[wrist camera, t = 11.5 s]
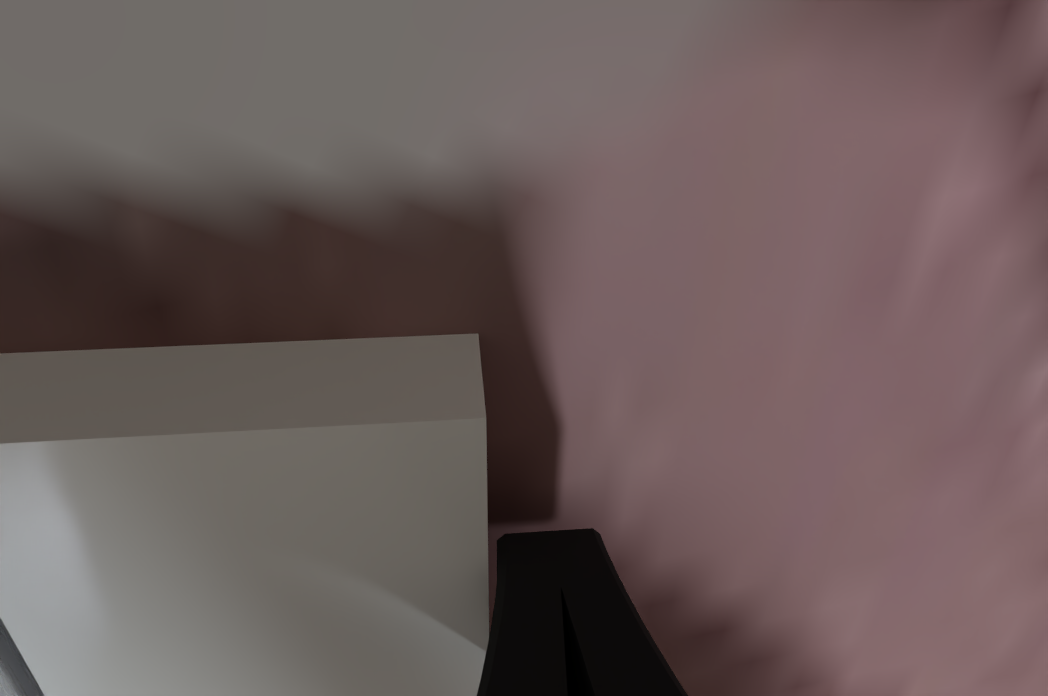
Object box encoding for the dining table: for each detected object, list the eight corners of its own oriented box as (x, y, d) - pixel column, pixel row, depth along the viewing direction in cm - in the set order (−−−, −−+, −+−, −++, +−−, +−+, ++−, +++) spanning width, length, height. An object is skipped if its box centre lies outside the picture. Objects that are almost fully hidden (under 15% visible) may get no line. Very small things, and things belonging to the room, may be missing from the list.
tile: (476, 314, 11) (486, 417, 9) (482, 642, 15) (490, 752, 14) (-17, 335, 10) (-97, 448, 9) (131, 668, 15) (95, 786, 13)
